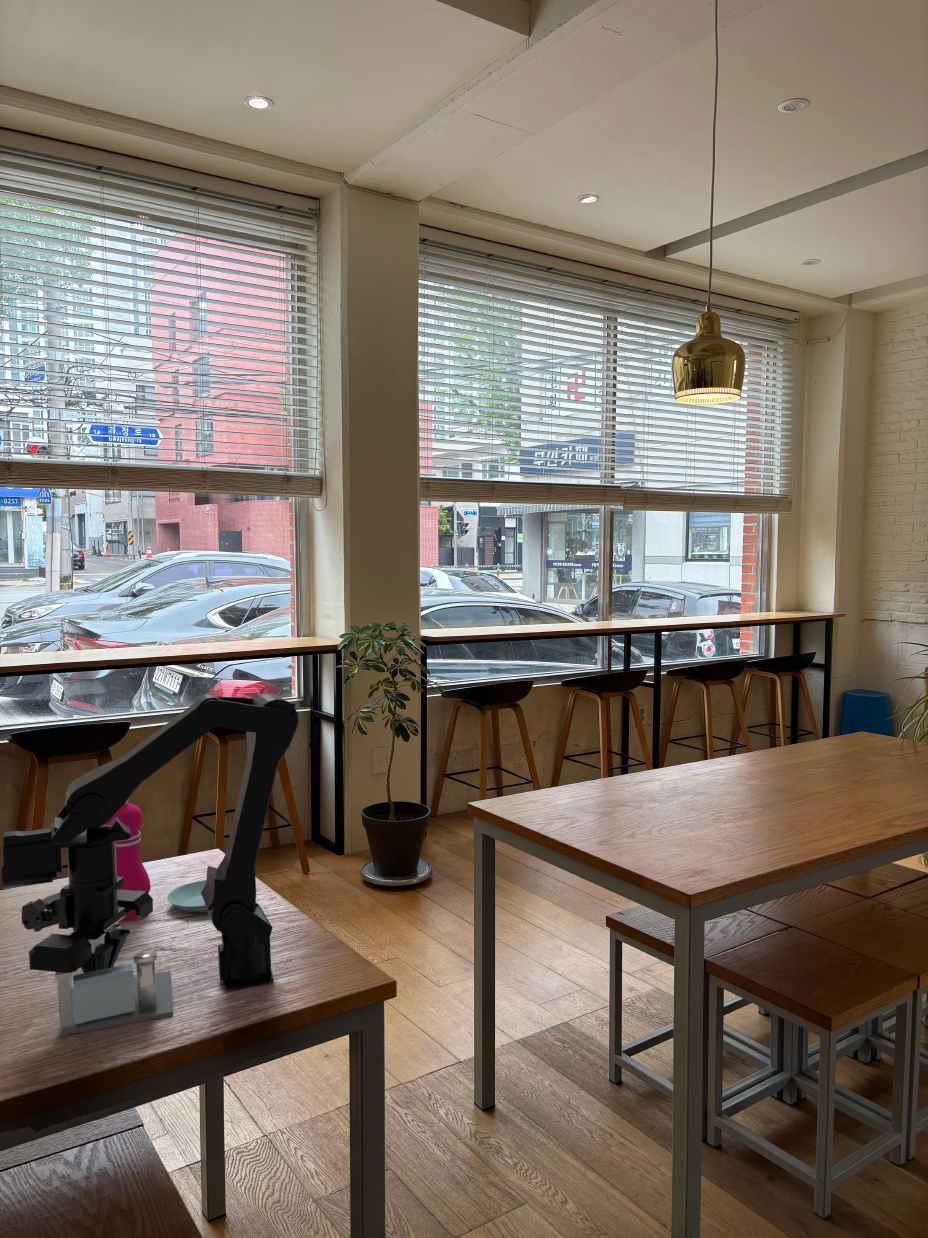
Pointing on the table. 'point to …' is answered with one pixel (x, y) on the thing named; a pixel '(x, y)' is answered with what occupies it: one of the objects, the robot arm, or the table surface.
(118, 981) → the gate
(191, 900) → the saucer
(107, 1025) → the mat
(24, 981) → the table surface
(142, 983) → the hinge post
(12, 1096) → the table surface
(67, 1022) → the latch post
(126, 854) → the pepper mill
